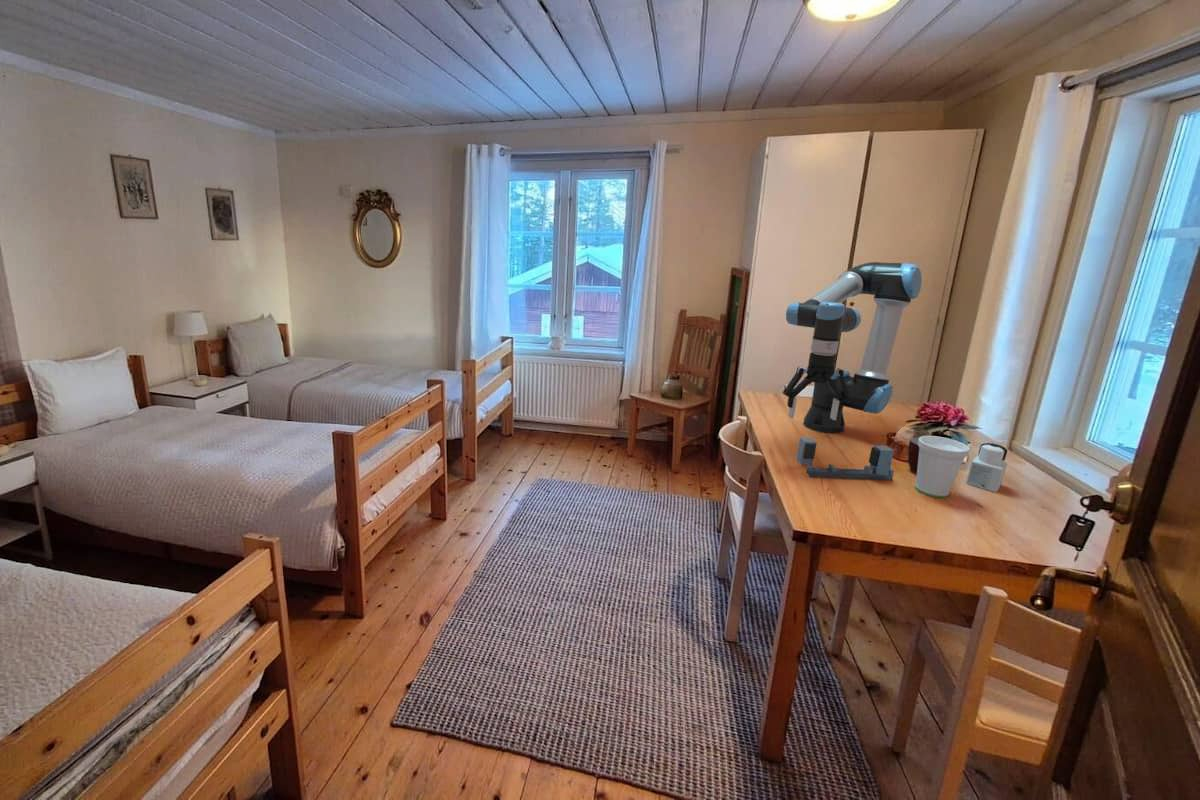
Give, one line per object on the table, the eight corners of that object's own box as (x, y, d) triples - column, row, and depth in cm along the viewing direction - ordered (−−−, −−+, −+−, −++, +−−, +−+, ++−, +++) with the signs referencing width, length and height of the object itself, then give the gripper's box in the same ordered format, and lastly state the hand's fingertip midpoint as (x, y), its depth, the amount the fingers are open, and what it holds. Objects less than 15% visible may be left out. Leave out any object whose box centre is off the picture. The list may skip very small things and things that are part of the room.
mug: (936, 481, 156) (944, 452, 153) (907, 476, 159) (914, 447, 156) (929, 469, 166) (936, 440, 163) (901, 464, 168) (908, 436, 165)
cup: (912, 496, 146) (924, 447, 142) (903, 478, 157) (914, 433, 153) (962, 504, 142) (976, 454, 138) (949, 486, 153) (962, 439, 149)
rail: (805, 472, 159) (810, 442, 156) (885, 475, 159) (892, 446, 156) (810, 477, 155) (815, 447, 152) (892, 481, 155) (899, 451, 153)
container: (971, 476, 161) (981, 438, 157) (1001, 485, 156) (1012, 446, 152) (965, 483, 156) (976, 444, 152) (996, 492, 150) (1008, 452, 147)
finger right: (808, 460, 169) (811, 437, 166) (813, 466, 164) (817, 443, 162) (796, 459, 169) (799, 437, 166) (801, 465, 164) (805, 442, 162)
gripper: (787, 353, 152) (777, 420, 158) (869, 357, 153) (856, 423, 159) (779, 349, 159) (769, 412, 165) (857, 352, 160) (844, 416, 166)
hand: (811, 418), depth 162 cm, fingers open, 13 cm apart
